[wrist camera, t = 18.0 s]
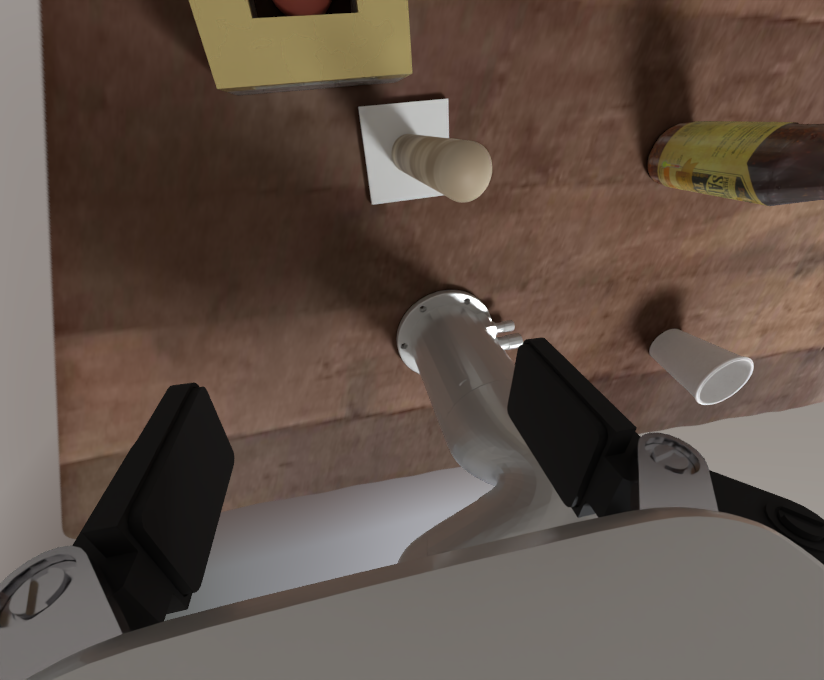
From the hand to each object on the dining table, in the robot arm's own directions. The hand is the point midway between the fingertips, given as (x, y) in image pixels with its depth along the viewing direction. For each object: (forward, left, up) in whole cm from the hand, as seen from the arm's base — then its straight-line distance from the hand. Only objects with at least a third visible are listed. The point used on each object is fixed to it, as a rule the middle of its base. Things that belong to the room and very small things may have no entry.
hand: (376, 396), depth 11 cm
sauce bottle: (-37, -1, -28) cm, 47 cm away
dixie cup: (-47, +27, -28) cm, 61 cm away
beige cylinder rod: (-7, -4, -28) cm, 29 cm away
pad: (-7, -4, -28) cm, 29 cm away
